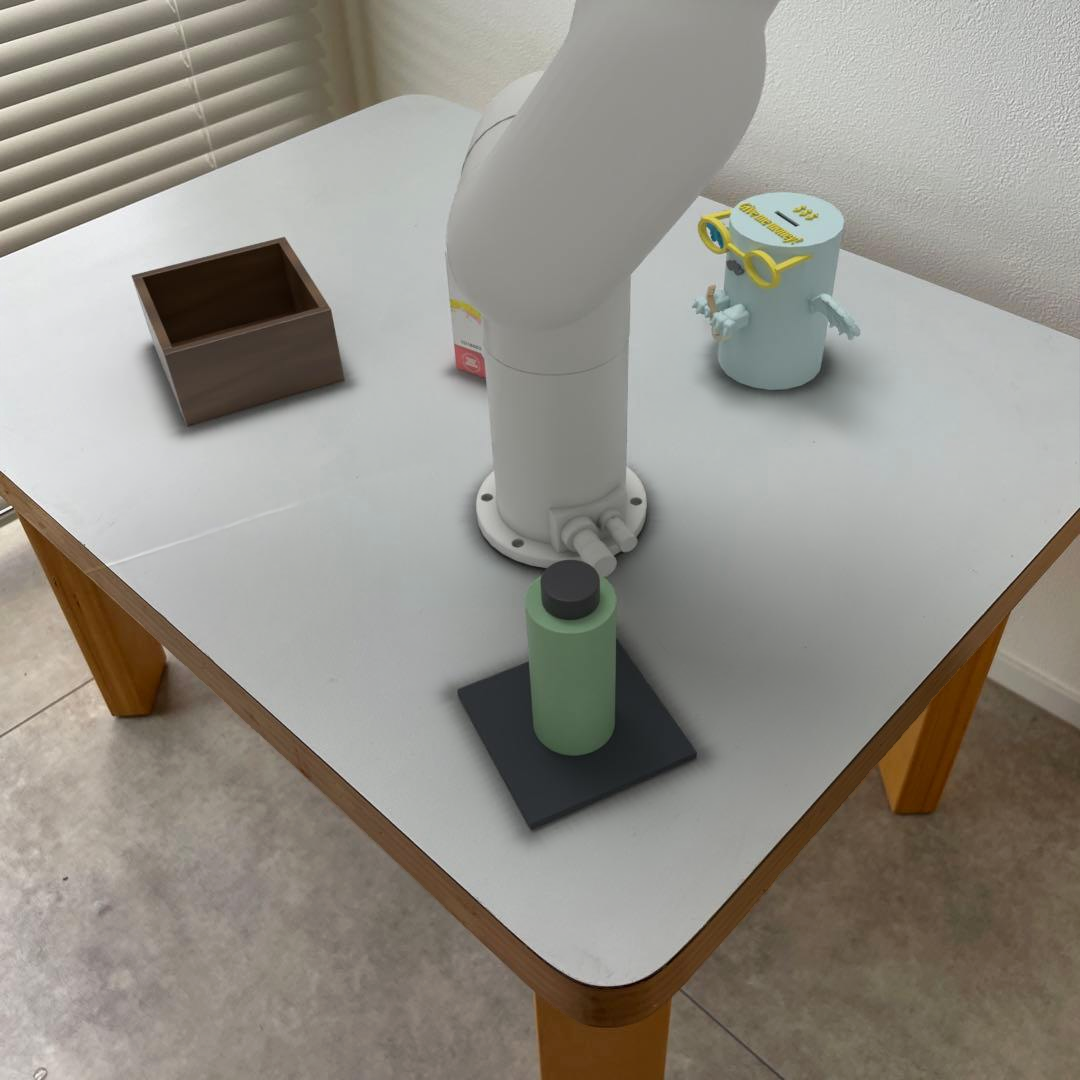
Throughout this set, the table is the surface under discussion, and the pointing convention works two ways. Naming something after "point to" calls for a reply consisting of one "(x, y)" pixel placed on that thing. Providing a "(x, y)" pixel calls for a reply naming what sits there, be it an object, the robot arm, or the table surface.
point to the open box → (239, 329)
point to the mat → (574, 781)
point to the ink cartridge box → (465, 330)
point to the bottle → (572, 657)
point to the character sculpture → (775, 288)
